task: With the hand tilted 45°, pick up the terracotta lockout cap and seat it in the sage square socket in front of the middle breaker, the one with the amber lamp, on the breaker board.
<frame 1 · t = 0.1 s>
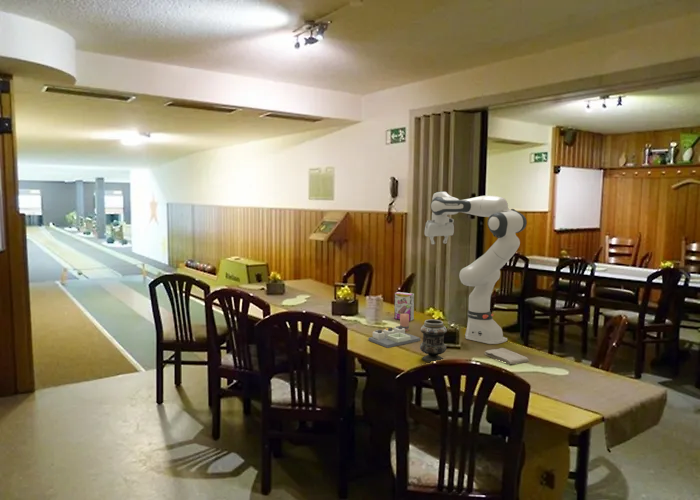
hand: (439, 243, 290), 48 cm above the table, tool pointing down, fingers open, 8 cm apart
candy bar box: (404, 319, 308), on the table
apothecary jar: (432, 359, 232), on the table
breaker board: (394, 340, 262), on the table
lockout cap: (404, 330, 283), on the table
washcloth: (505, 359, 233), on the table
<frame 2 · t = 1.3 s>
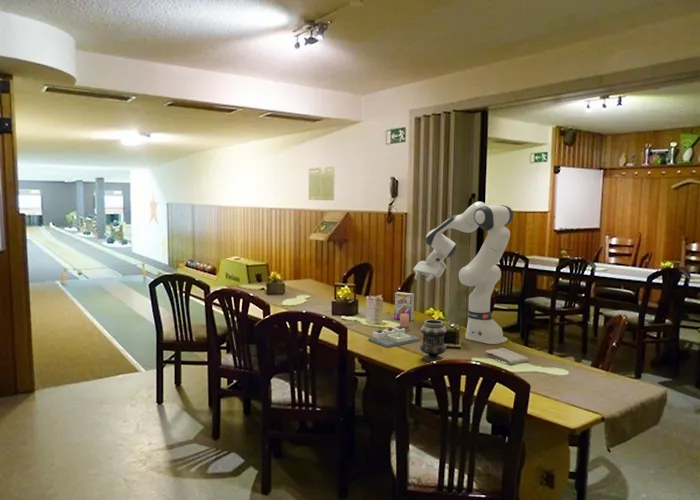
hand: (421, 280, 287), 27 cm above the table, tool tilted 45°, fingers open, 8 cm apart
nothing on the table moved.
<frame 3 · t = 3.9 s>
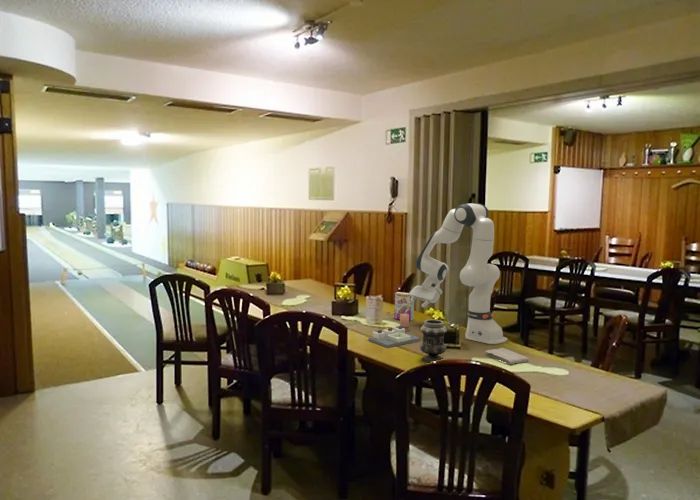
hand: (416, 305, 287), 13 cm above the table, tool tilted 45°, fingers open, 8 cm apart
nothing on the table moved.
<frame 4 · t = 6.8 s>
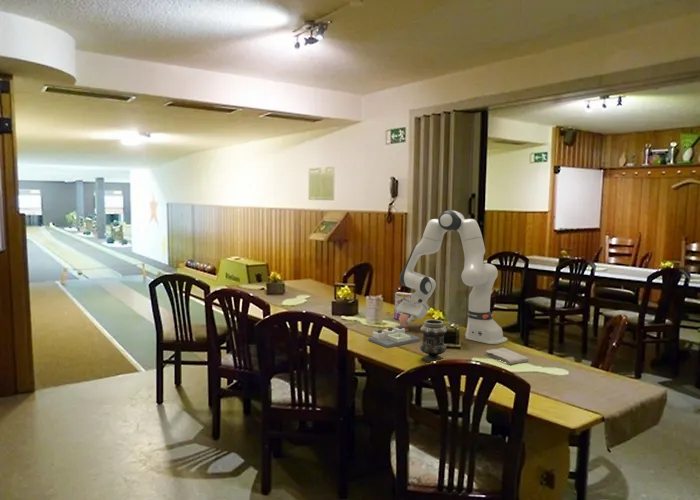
hand: (403, 321, 282), 5 cm above the table, tool tilted 45°, fingers closed on lockout cap, 5 cm apart
lockout cap: (404, 330, 283), on the table, touching gripper
everything else where it was.
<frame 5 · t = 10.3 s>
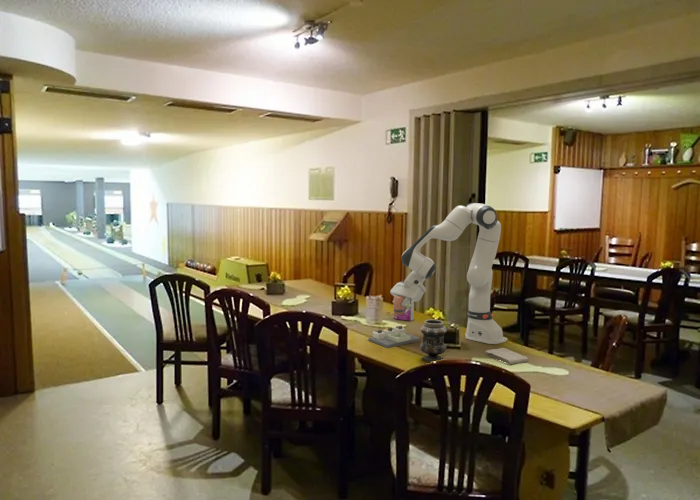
hand: (397, 304, 259), 20 cm above the table, tool tilted 45°, fingers closed on lockout cap, 5 cm apart
lockout cap: (398, 313, 260), point 14 cm above the table, touching gripper
everything else where it was.
when the fingers open (7 cm above the table, at t = 13.9 s): lockout cap stays where it is, resting on breaker board.
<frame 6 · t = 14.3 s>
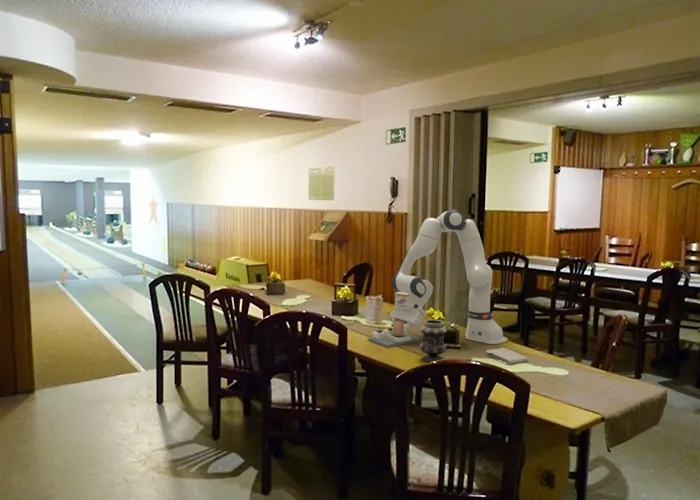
hand: (397, 328, 258), 7 cm above the table, tool tilted 45°, fingers open, 8 cm apart
lockout cap: (398, 338, 259), point 2 cm above the table, touching breaker board
everything else where it was.
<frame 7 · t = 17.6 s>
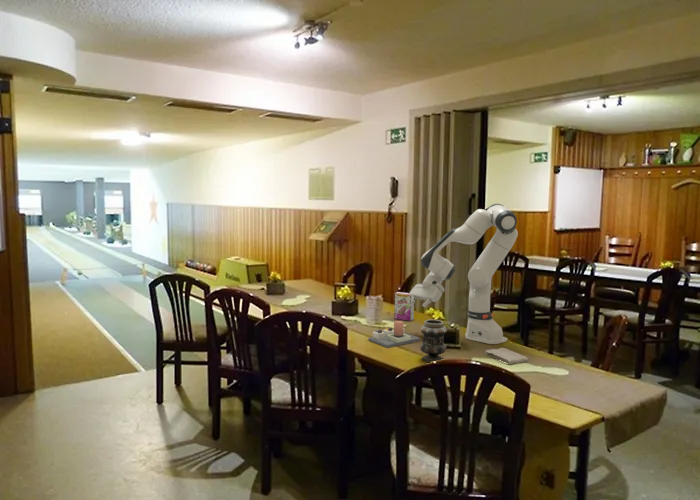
hand: (417, 305, 265), 18 cm above the table, tool tilted 45°, fingers open, 8 cm apart
nothing on the table moved.
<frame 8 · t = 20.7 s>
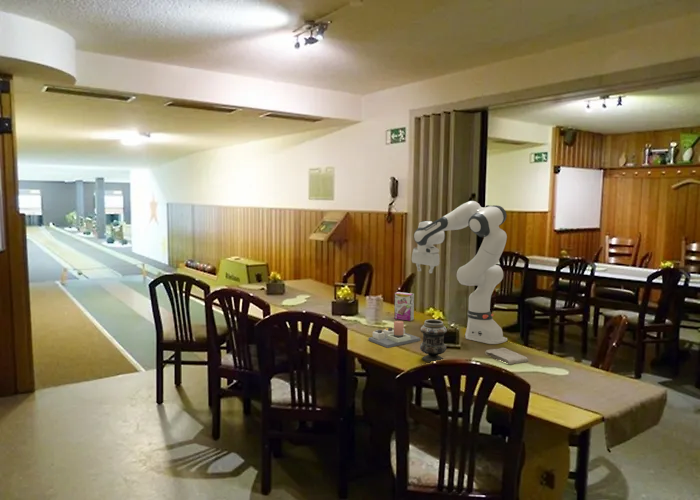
hand: (424, 272, 293), 31 cm above the table, tool pointing down, fingers open, 8 cm apart
nothing on the table moved.
at the end: lockout cap 0.0 cm from the target spot on the breaker board, point 1.7 cm above the breaker board's base; lockout cap tilted 0°; the gripper is holding nothing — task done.
